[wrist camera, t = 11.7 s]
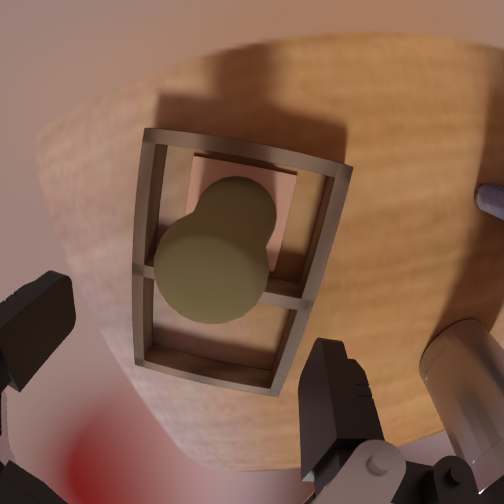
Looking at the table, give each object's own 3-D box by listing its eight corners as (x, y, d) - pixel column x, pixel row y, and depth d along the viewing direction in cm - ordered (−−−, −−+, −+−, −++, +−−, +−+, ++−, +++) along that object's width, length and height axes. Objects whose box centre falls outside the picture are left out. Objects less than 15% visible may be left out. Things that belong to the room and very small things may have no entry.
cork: (194, 176, 21) (124, 212, 11) (277, 176, 21) (282, 211, 10) (198, 253, 23) (146, 338, 13) (275, 255, 23) (275, 348, 13)
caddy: (344, 163, 20) (353, 166, 18) (278, 379, 28) (278, 397, 25) (158, 128, 20) (144, 127, 18) (143, 348, 28) (134, 364, 25)
